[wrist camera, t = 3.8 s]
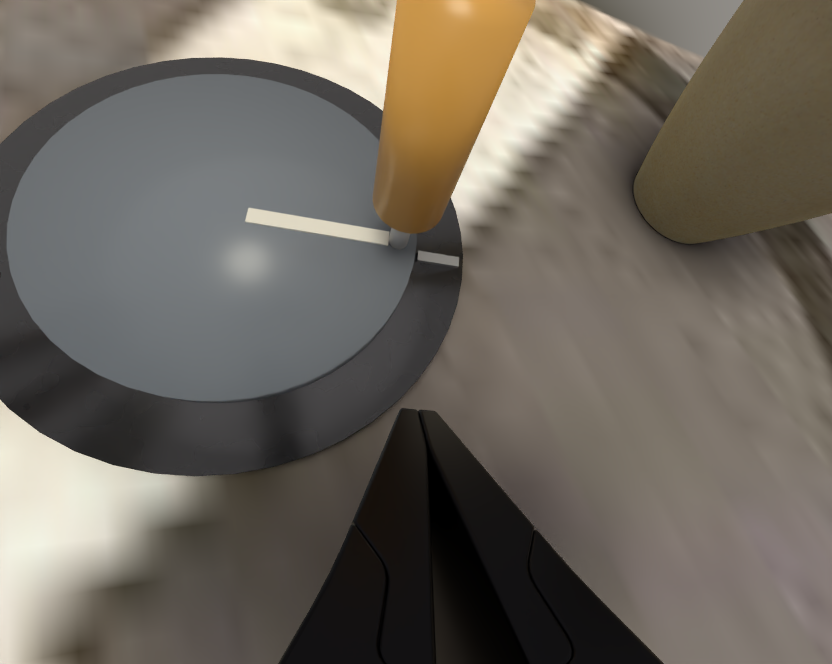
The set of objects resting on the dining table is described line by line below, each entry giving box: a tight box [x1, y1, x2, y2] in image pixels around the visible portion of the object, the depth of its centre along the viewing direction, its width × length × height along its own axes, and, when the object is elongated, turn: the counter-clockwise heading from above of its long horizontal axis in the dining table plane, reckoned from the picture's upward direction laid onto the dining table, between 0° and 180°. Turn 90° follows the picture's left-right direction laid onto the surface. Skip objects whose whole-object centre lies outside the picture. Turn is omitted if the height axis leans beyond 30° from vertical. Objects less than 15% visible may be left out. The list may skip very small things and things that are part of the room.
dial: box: [7, 0, 535, 403], centre depth 13 cm, size 19×18×12 cm
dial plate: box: [0, 58, 463, 476], centre depth 19 cm, size 24×24×2 cm
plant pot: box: [634, 0, 832, 244], centre depth 20 cm, size 15×15×16 cm
